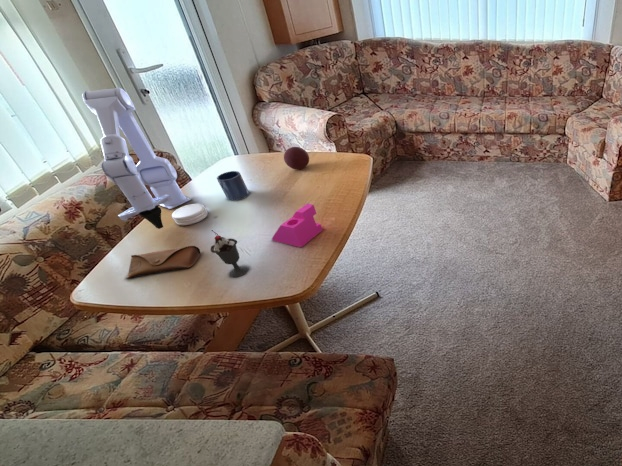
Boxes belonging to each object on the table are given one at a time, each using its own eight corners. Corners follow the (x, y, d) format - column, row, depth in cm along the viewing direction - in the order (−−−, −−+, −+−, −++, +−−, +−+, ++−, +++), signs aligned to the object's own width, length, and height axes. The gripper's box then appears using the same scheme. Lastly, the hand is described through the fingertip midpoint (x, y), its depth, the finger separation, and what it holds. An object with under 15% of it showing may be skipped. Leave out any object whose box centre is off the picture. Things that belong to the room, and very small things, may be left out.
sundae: (232, 265, 117) (209, 225, 108) (255, 263, 117) (233, 224, 108) (221, 280, 112) (196, 239, 103) (245, 278, 112) (222, 238, 103)
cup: (222, 198, 151) (212, 178, 145) (241, 189, 156) (231, 169, 151) (235, 202, 148) (225, 182, 143) (253, 193, 154) (244, 173, 148)
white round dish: (213, 215, 140) (209, 207, 138) (184, 229, 134) (178, 220, 132) (200, 208, 145) (195, 200, 143) (171, 220, 138) (165, 212, 136)
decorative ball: (316, 167, 171) (309, 147, 165) (293, 175, 166) (285, 154, 160) (306, 161, 177) (299, 141, 171) (284, 168, 171) (276, 148, 165)
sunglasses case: (123, 279, 112) (116, 257, 111) (139, 275, 119) (133, 255, 118) (192, 267, 116) (186, 246, 115) (204, 263, 123) (199, 243, 122)
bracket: (322, 229, 131) (313, 204, 125) (301, 247, 124) (290, 221, 118) (295, 224, 135) (285, 199, 129) (272, 240, 127) (260, 215, 121)
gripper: (117, 206, 116) (142, 241, 124) (167, 185, 126) (188, 219, 134) (105, 201, 119) (131, 236, 127) (155, 181, 129) (176, 214, 137)
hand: (159, 227), depth 131 cm, fingers closed
